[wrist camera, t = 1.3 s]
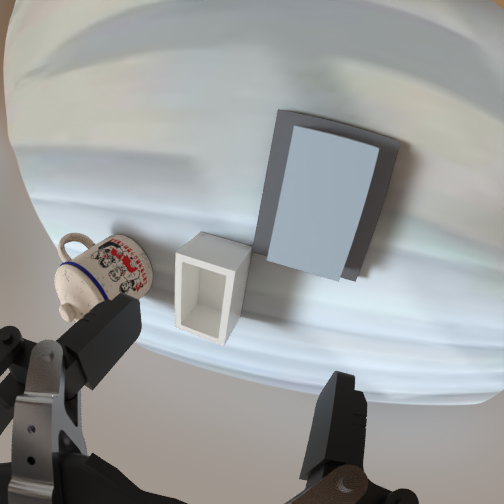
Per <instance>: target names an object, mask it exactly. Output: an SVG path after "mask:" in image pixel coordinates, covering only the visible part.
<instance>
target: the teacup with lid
mask: <svg viewBox="0 0 504 504" xmlns="http://www.w3.org/2000/svg"><path fill="white" fill-rule="evenodd" d="M71 241H77V242H81V243H82V244H84V245H85V246H86V247H87V248H88V250H86V251H85V252H83V253H82V254H80V255H78V256H77V257H75V258H74V259H71V258H70V257H69V255H68V254H67V252H66V251H65V248H64V244H66V243H68V242H71ZM58 253H59V256H60V258H61V259H62V261H63V262H64V263H62V264H61V265H60V267H59V268H58V270H57V272H56V275H55V287H56V291H57V294H58V297H59V299H60V301H61V304H62V305H61V306H60V308H59V312H60V314H61V316H62V318H63V319H64V320H65V321H67V322H71V321H74V322H77V321H79V320H80V319H82V318H83V316H84V315H85V314H86V313H89V311H90V310H91V309H92V308H93V307H94V306H96V305H97V304H98V303H101V302H103V301H105V300H108V299H110V300H113V299H114V298H115V297H116V296H117V295H118V294H120V293H125V294H128V295H130V296H132V297H134V298H136V299H138V300H139V299H140V298H141V297H143V296H144V295H145V294H146V293H147V292H148V291H149V289H150V287H151V285H152V281H153V273H152V268H151V264H150V262H149V259H148V257H147V256H146V254H145V252H144V251H143V250H142V248H141V247H140V246H139V245H138V244H137V243H136V242H135V241H133V240H132V239H130V238H128V237H126V236H123V235H112V236H109V237H108V238H106V239H104V240H103V241H101V242H99V243H98V244H96V245H95V243H94V242H93V241H92V240H91V239H90V238H89V237H87V236H86V235H84V234H80V233H70V234H67V235H65V236H64V237H62V238H61V240H60V242H59V244H58Z"/></svg>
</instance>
